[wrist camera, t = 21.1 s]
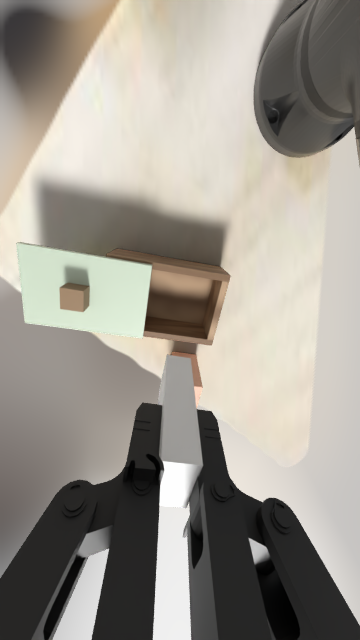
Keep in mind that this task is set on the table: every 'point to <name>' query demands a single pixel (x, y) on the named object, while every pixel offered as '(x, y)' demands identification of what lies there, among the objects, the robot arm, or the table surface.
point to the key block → (195, 372)
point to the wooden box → (181, 297)
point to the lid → (83, 290)
